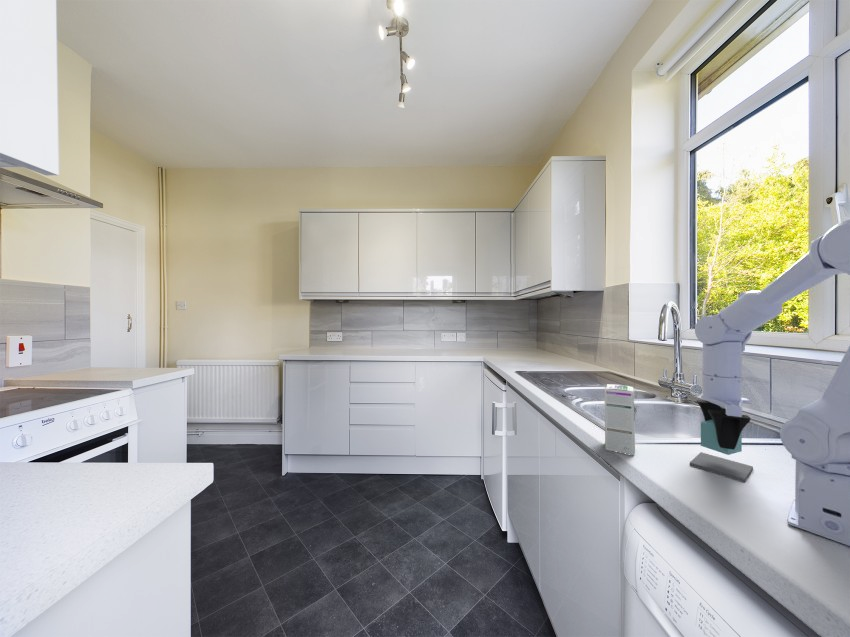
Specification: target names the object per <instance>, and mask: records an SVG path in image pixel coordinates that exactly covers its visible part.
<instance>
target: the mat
mask: <svg viewBox="0 0 850 637" xmlns="http://www.w3.org/2000/svg"><path fill="white" fill-rule="evenodd" d="M689 466H690V467H694V468H697V469H701V470H704V471H708V472H711V473H714V474H717V475H721V476H723V477H726V478H730V479H733V480H737V481H740V482H743V483H745V482H746V481H747V480H748V478H749V476H750V475H751V473H752V471H753V470H754V466H752V465H750V464H749V465H748V464H745V463H742V462H738V461H735V460H731V459H727V458H723V457H720V456H716V455H713V454H709V453H706V452H702V451H701V452H700V453H698V454H696V456H695V457H694V458H693V459H692V460H690V461H689Z"/></svg>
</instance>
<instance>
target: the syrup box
mask: <svg viewBox="0 0 850 637" xmlns="http://www.w3.org/2000/svg"><path fill="white" fill-rule="evenodd" d="M634 391H635V389H634V386H632V385H631V386H630V385H625V384H618V383H617V384H616V383H615V384H614V383H613V384H612V383H611V384H609V383H607V384H605V387H604V436H605V437H604V439H605V440H604V441H605V442H604V444H605V445H604V446H605V448H604V449H605V450H606V451H608V452H612V451H617V452H621V453H620V454H622V453H626V454H625V455H627V454H630V455H629V456H632V455H634V456H635V454H636V414H635V410H636V409H635V392H634ZM617 452H616V453H617Z"/></svg>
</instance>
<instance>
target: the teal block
mask: <svg viewBox="0 0 850 637" xmlns="http://www.w3.org/2000/svg"><path fill="white" fill-rule="evenodd" d="M742 433H743V432H741V434H740V436H739V439H738V442H737V445H736V447H735V449H734V450H733V449H726V448H721V447H720V446H719V444H718V441H717V435H716V429H715V425H714V422H713V420H708V421H705V420H704V421H700V447H703V448H706V449H710V450H712V451H715V452H718V453H721V454H724V455H727V456H729V455H733V454H734V455H735V454H737V453H740V452H743V450H742V448H743V447H742V444H743V443H742V442H743V441H742V440H743V434H742Z"/></svg>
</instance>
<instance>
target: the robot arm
mask: <svg viewBox="0 0 850 637" xmlns="http://www.w3.org/2000/svg"><path fill="white" fill-rule="evenodd" d="M839 274H847V275H848V276H850V219H846V220H843V221H840V222H838V223H836V224H834V225H833V226H832V227H831V228H829V229H828V230H827V231H825V233H824V234H823V235H821V236H819V237H817V238H816V239H814V240H812V241H811V243H810V247H809V250H808V251H807V253H805V254H804V255H803V256H802V257H800V258H799V259H798V260H797V261H795V263H793V264H792V265H791V266H790V267H788V268H787V269H786V270H785V271H783V272H782V273H781V274H780V275H778V276H777V277H776V278H775V279H774V280H773V281H771V282H770V283H769V284H767V285H766V286H764V288H763V289H762V290H757V289H756V290H749V291H743V292H741V293H739V294H737V299H735V300H734V301H733V302H732V303H729V305H728V306H726V307H724V308H722V309H720V310H719V311H718V313H717V314H713V315H704V316H701V318H700V319H699V320H698V321H697V322H696V324H695V327H694V334H695V337H696V338H697V340H698V341H699V342H700V343H702V393H701V394H700V396H701V397H700V398H701V399H696V403H697V404H698V406H699V407H700V410H701V412H702V415H703V418H704V421H708V420H713V422H714V425H715V429H716V435H717V441H718V444H719V446H720V447H721V448H726V449H733V450H734V449H735V447H736V445H737V442H738V439H739V436H740V434H741V432H742V431H743V430H744V428H745V427H746V426H747V424H749V423H750V422H751V417H750V416H749V415H746V414H743V406H742V405H744V404H751V400H750V399H748V398H746V397H742V383H743V382H742V379H743V378H742V375H743V374H742V369H743V368H742V366H743V365H742V364H743V363H742V361H743V360H742V359H743V358H742V357H743V353H744V352H745V351H746V344H747V343H748V342H749V341H750V339H751V337H752V332H754V331H755V330H756V329H758V328H760V327H762V326H763V325H765V324H767V323H768V322H770V321H772V320H773V319H775V318H776V317H778V316H780V315H781V314H782V313H783V304H784V303H786V302H789V301H790V300H792V299H794V298H795V297H797V296H799V295H801V294H803V293H804V292H806V291H808V290H810V289H811V288H813V287H815V286H817V285H819V284H820V283H822V282H824V281H826V280H827V279H830V278H831V277H833V276H835V275H839ZM742 433H743V432H742ZM779 437H780V438H779V439H780V440H781V443H782V445H783V446H784V448H785V449H786V451H787V452H788V453H789V454H790V455H791V459H793V460H795V476H794V477H795V478H794V479H795V480H794V481H795V483H794V485H795V489H794V490H795V494H794V496H795V498H794V499H793V501H792V504H791V507H790V510H789V514H788V517H787V519H786V521H787V524H789V525H790V526H792V527H796V528H798V529H801V530H804V531H806V532H810V533H813V534H815V535H818V536H821V537H824V538H826V539H829V540H831V541H832V540H833V541H834V542H837V543H840V544H843V545H845V546H848V547H850V345H849V346H848V348H847V350H846V352H845V353H844V355H843V357H842V359H841V361H840V363H839V365H838V366H837V368H836V370H835V372H834V374H833V376H832V378H831V380H830V382H829V383H828V384H827V387H826V389H825V390H824V393H823V394H822V397H820V398H818V399H815V401H812V402H810V403H808V404H806V405H804V406H803V407H801V408H800V409H798V411H797V413H796V415H795V416H794V417H793V418H791V419H788V420H787V421H785V422H784V423H783V424H782V425H781V427H780V430H779Z"/></svg>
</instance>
